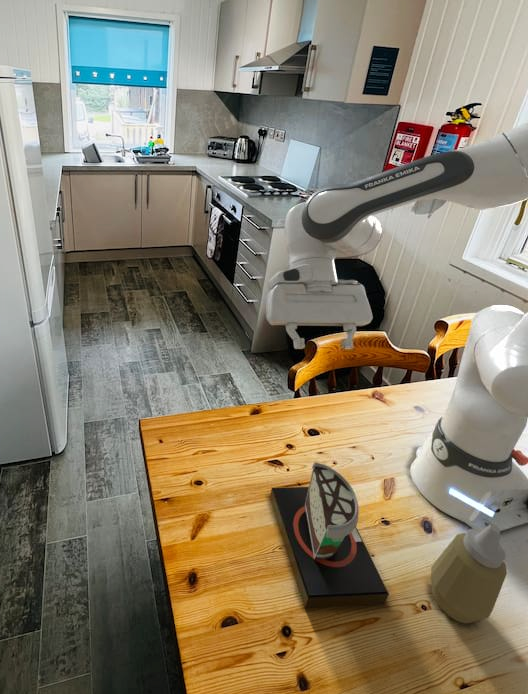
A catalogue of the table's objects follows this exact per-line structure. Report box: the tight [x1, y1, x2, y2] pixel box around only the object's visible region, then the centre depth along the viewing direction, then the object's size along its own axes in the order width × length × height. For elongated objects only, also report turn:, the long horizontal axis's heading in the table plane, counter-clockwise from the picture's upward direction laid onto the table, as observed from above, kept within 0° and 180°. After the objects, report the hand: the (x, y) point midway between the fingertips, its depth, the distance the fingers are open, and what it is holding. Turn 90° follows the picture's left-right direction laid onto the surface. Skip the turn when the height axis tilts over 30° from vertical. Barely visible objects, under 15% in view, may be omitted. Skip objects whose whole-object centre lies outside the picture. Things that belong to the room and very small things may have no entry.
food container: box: [305, 461, 360, 560], centre depth 66 cm, size 12×6×10 cm, turn 171°
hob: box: [269, 486, 390, 609], centre depth 69 cm, size 13×18×3 cm
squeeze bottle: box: [430, 524, 508, 624], centre depth 59 cm, size 8×8×18 cm
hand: (323, 348), depth 74 cm, fingers open, 8 cm apart
